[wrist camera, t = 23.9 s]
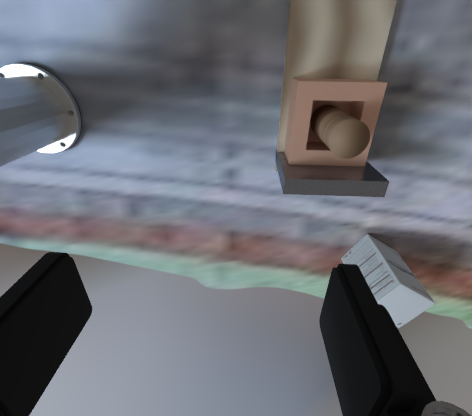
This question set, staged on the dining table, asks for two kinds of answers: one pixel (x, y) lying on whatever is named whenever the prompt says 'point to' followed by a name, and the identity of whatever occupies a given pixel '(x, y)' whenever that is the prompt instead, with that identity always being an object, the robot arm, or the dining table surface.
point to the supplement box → (389, 279)
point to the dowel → (340, 131)
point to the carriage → (342, 97)
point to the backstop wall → (330, 179)
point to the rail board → (333, 44)
